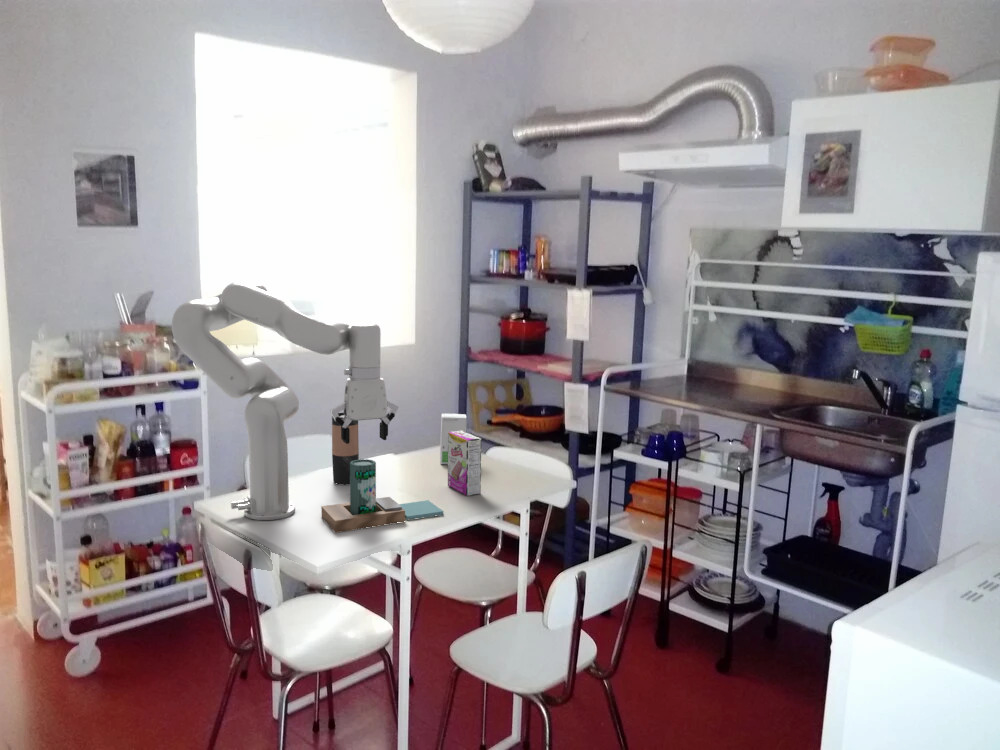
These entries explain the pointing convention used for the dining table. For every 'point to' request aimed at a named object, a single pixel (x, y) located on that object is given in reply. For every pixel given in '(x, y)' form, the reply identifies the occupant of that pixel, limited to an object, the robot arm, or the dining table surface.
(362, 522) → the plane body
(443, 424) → the skincare box
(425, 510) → the rubber mat
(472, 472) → the candy bar box
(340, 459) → the travel mug
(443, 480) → the dining table surface
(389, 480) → the dining table surface
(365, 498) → the can
